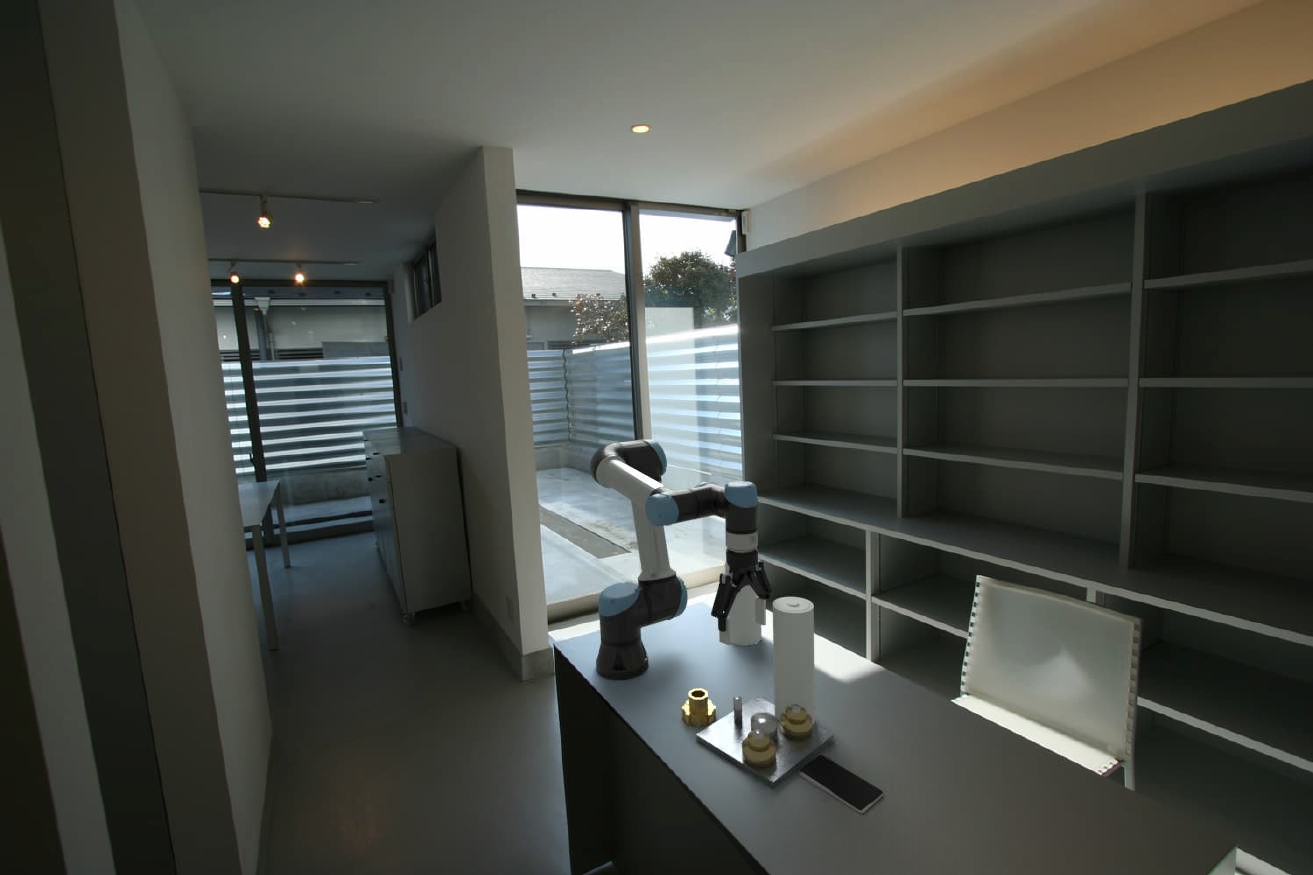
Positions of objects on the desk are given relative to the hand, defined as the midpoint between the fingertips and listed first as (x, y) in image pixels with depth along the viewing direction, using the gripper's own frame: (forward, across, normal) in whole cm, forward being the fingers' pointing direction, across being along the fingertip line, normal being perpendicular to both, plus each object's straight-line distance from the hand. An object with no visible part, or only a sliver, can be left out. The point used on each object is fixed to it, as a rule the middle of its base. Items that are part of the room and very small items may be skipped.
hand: (743, 633), depth 142 cm
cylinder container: (+22, +7, -10) cm, 25 cm away
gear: (+22, -8, +8) cm, 24 cm away
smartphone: (+22, -5, -29) cm, 36 cm away
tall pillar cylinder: (+22, +32, +26) cm, 47 cm away
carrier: (+21, -4, -9) cm, 24 cm away
